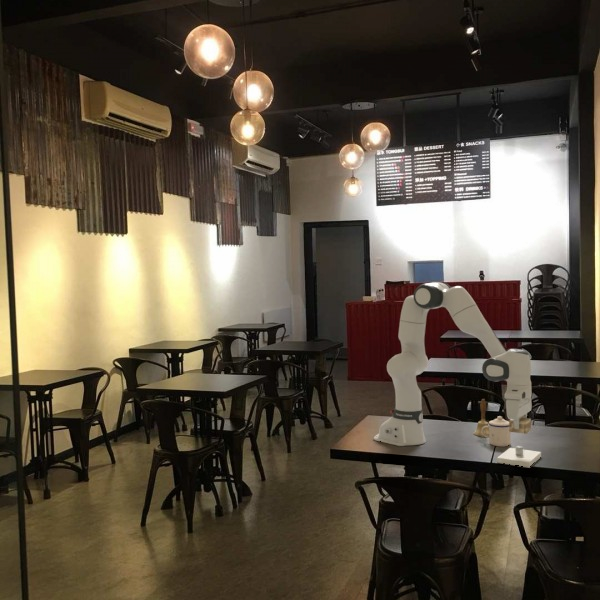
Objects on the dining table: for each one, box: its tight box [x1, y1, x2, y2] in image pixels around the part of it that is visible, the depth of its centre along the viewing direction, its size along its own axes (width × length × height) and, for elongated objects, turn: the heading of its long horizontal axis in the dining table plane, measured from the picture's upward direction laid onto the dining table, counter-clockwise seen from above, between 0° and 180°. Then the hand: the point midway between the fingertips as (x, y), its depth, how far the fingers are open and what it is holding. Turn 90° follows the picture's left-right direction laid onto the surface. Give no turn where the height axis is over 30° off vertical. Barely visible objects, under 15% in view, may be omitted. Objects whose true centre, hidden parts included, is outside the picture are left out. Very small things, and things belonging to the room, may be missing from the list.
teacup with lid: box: [482, 415, 512, 447], centre depth 265 cm, size 12×9×12 cm
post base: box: [496, 445, 542, 469], centre depth 242 cm, size 12×16×5 cm
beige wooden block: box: [508, 417, 532, 435], centre depth 242 cm, size 6×6×4 cm
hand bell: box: [473, 398, 489, 437], centre depth 281 cm, size 8×8×16 cm
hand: (520, 426), depth 242 cm, fingers closed on beige wooden block, 6 cm apart
